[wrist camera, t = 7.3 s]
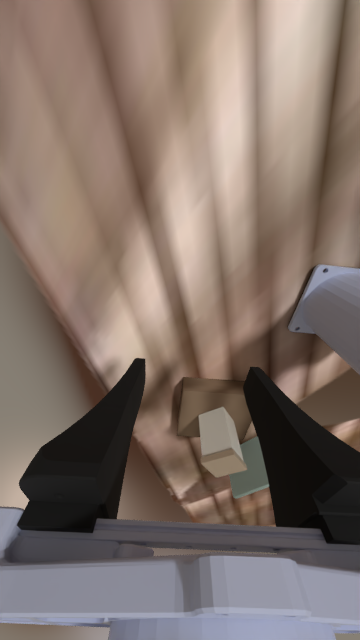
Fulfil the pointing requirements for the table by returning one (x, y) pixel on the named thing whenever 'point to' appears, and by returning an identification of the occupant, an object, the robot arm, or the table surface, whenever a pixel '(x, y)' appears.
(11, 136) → the table surface
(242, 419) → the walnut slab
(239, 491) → the l-shaped corner panel
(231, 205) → the table surface
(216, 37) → the table surface
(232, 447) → the beige rectangular block
